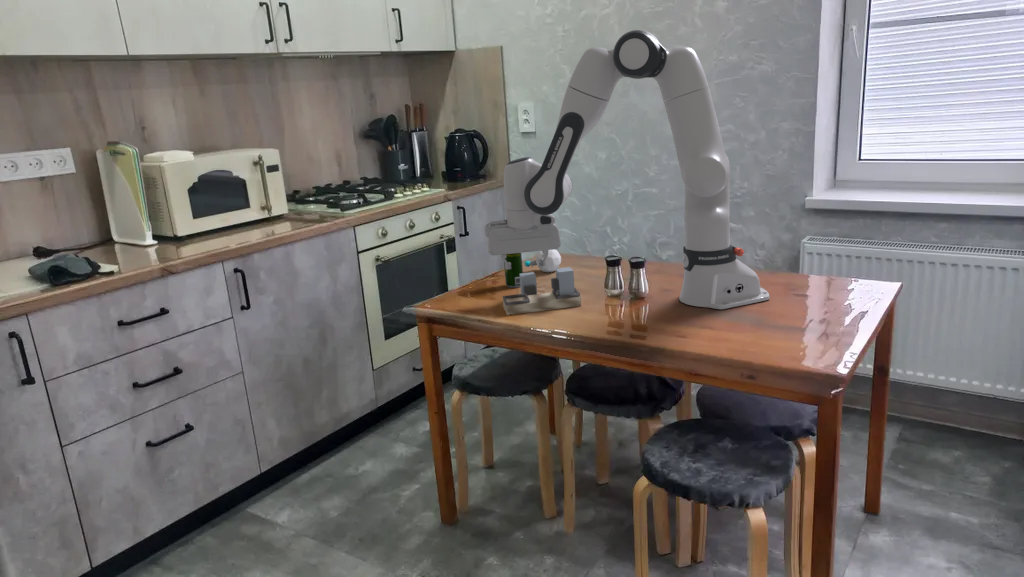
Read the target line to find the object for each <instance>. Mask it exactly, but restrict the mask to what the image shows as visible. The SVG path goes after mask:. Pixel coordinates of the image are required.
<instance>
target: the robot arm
mask: <svg viewBox="0 0 1024 577" xmlns="http://www.w3.org/2000/svg"><path fill="white" fill-rule="evenodd" d="M575 66H576V67H575V68H574V71H573V73H572V75H571V77H570V79H569V82H568V85H567V86H566V91H565V93H564V97H563V100H562V104H561V109H560V113H559V117H558V120H557V124H556V128H555V132H554V135H553V137H552V140H551V141H550V145H549V147H548V148H547V152H546V155H545V157H544V159H543V162H542V164H541V163H540V162H537V161H536V160H535V159H533V157H528V156H527V157H525V156H524V157H521V158H516V159H514V160H511V161H509V162H507V163H506V165H505V167H504V170H503V192H504V197H505V207H504V208H505V209H504V210H505V219H503V220H501V219H500V220H492V221H491V220H490V221H489V222H488V223H487V224H486V225H485V226H484V234H485V236H486V238H487V239H486V243H487V244H486V250H487V253H488V254H489V255H490V256H492V257H493V256H500V258H501V260H502V261H503V264H504V263H505V268H506V270H510V269H511V263H510V262H507V261H506V259H505V258H507V257H506V254H513V253H521V254H523V253H530V252H531V253H532V252H539V251H542V253H543V256H542V258H541V259H539V266H545V260H546V258H547V256H548V250H554V249H555V250H558V249H560V247H561V246H562V241H561V235H560V234H561V233H560V231H559V228H558V226H557V225H556V216H555V215H554V213H555V212H557V211H558V210H559V209H560V208H561V206H562V205H563V203H564V202H566V200H567V199H568V198H569V197H570V196H571V194H572V191H573V181H572V179H571V177H570V176H569V174H568V173H567V171H568V168H569V166H570V164H571V162H572V159H573V157H574V155H575V152H576V150H577V148H578V146H580V145H579V144H580V143H581V142H582V141H583V139H584V138H585V137H586V136H587V135H588V134H589V133H590V132H591V131H592V130H593V129H594V128H595V127H596V126H597V125H598V123H599V122H600V120H601V118H602V116H603V115H604V113H605V111H606V109H607V107H608V104H609V103H610V99H611V96H612V94H613V92H614V90H615V87H616V86H617V84H618V82H619V81H620V80H621V79H623V78H629V79H632V80H633V79H634V80H642V79H646V78H649V79H650V78H652V79H654V80H655V81H656V83H657V84H658V87H659V90H660V93H661V97H662V100H663V105H664V108H665V112H666V115H667V118H668V121H669V126H670V130H671V132H672V133H671V134H672V138H673V143H674V148H675V152H676V157H677V161H678V165H679V169H680V174H681V177H682V181H683V184H684V245H683V248H682V251H683V252H682V263H683V269H684V270H683V280H682V286H681V291H680V294H679V297H678V298H679V301H680V302H681V303H683V304H685V305H688V306H693V307H700V308H701V307H702V308H708V309H709V308H711V309H715V310H726V309H730V308H736V307H741V306H745V305H751V304H754V303H759V302H765V301H768V300H770V293H769V292H768V291H767V290H766V289H765V288H763V287H762V286H761V283H760V278H759V275H758V274H757V272H755V271H754V270H753V269H752V268H750V267H749V266H747V265H746V264H745V263H744V262H742V261H740V260H739V259H738V258H737V256H738V257H742V256H743V255H744V254H745V250H744V249H743V248H741V247H735V246H733V245H731V244H730V243H731V242H730V232H731V231H730V228H731V227H730V226H731V225H730V223H731V222H730V220H731V219H730V218H731V210H730V209H731V208H730V207H731V206H730V205H731V202H730V200H731V197H730V193H731V191H730V190H731V188H730V186H731V184H730V183H731V181H730V180H731V179H730V178H731V176H730V175H731V174H730V173H731V168H730V167H731V166H730V165H731V163H730V159H729V157H728V155H727V154H726V149H725V145H724V141H723V138H722V133H721V128H720V125H719V121H718V117H717V113H716V108H715V105H714V100H713V97H712V92H711V90H710V86H709V82H708V79H707V76H706V73H705V70H704V68H703V65H702V62H701V61H700V58H699V56H698V54H697V52H696V51H695V50H694V49H693V48H691V47H689V46H683V45H681V46H676V47H671V48H666V47H664V46H663V45H662V44H661V42H660V41H659V40H658V38H657V37H656V36H655V35H654V34H653V33H651V32H649V31H646V30H642V29H641V30H640V29H634V30H629V31H628V32H625V33H624V34H623V35H621V37H619V39H618V40H617V41H616V43H615V45H614V47H613V49H610V48H609V49H608V48H605V47H601V46H595V47H590V48H587V50H585V51H584V52H583V54H582V55H581V57H580V59H579V60H578V62H577V65H575Z"/></svg>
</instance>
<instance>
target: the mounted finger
mask: <svg viewBox="0 0 1024 577" xmlns="http://www.w3.org/2000/svg"><path fill="white" fill-rule="evenodd" d="M574 273H575V272H574V269H572V267H571V266H567V267H560V268H559V267H558V268H557V269H556V270H555V277H554V278H550V282H551V289H552V290H554V291H555V290H557V294H558V295H559V296H561V295H569V294H575V289H574V288H575V277H574V275H575V274H574Z"/></svg>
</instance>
